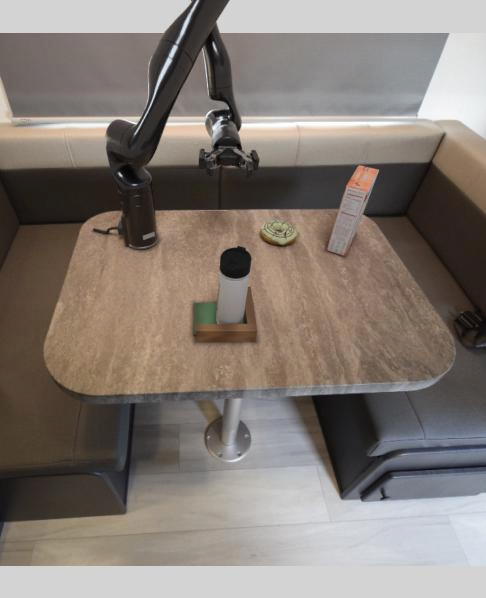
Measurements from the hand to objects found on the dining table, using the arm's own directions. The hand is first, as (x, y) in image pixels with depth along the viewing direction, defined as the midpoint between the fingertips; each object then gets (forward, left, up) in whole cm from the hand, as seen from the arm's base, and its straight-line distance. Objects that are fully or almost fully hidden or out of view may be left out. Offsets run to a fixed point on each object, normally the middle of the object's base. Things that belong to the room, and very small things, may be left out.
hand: (230, 173), depth 79 cm
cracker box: (+36, +11, -27) cm, 46 cm away
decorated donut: (+17, +13, -27) cm, 34 cm away
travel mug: (0, -22, -26) cm, 34 cm away
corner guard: (-1, -20, -27) cm, 33 cm away
